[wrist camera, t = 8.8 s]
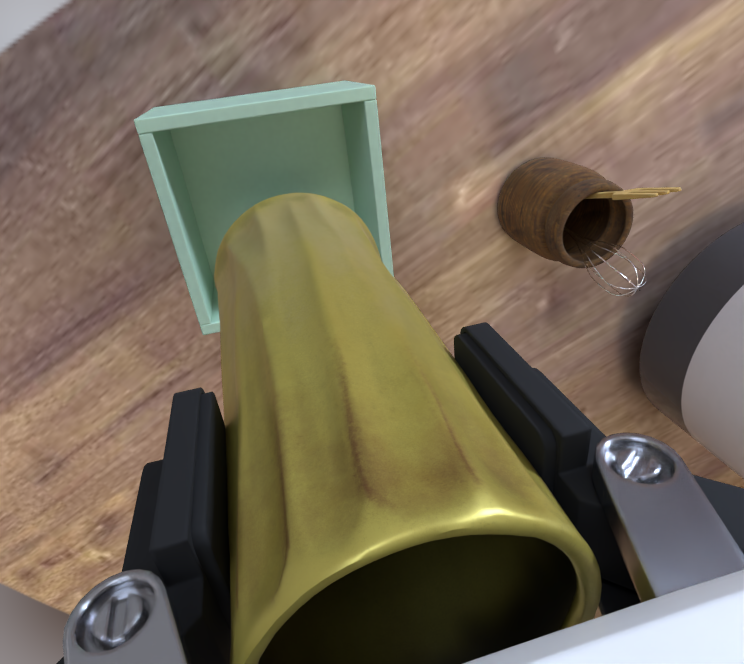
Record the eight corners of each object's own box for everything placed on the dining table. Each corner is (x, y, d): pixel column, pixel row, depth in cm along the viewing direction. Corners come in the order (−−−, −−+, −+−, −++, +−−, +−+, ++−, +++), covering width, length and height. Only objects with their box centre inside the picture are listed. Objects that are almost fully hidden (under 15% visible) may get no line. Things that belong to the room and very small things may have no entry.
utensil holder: (495, 249, 36) (600, 324, 26) (492, 160, 33) (611, 204, 23) (569, 231, 37) (700, 296, 27) (573, 142, 34) (724, 177, 24)
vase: (272, 370, 21) (340, 823, 8) (177, 247, 17) (61, 688, 5) (403, 295, 20) (663, 644, 8) (331, 157, 17) (582, 393, 5)
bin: (152, 107, 27) (132, 119, 21) (346, 80, 29) (375, 85, 23) (207, 287, 32) (202, 335, 27) (367, 255, 34) (395, 294, 28)
